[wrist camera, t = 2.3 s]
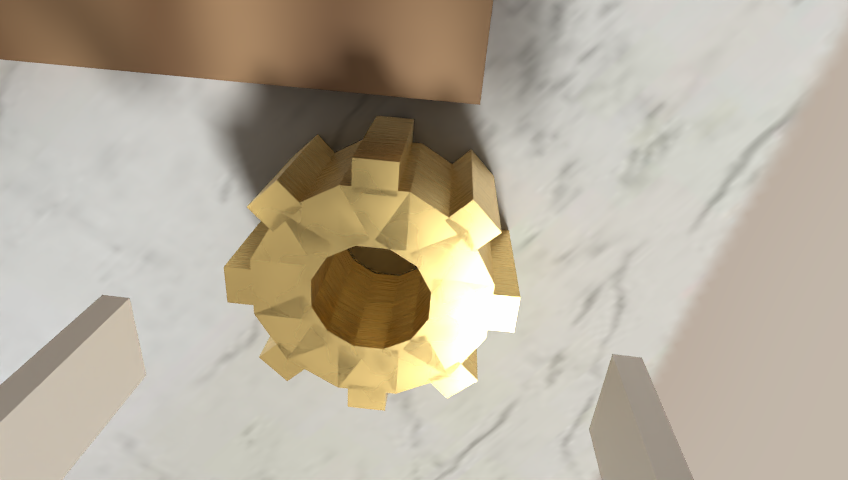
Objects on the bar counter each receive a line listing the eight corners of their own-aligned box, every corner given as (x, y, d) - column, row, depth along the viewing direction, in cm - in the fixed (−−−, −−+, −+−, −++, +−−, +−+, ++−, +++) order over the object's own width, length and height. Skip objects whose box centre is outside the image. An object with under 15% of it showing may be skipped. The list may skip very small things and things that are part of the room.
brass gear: (278, 317, 24) (238, 394, 20) (266, 105, 20) (210, 143, 16) (490, 339, 24) (496, 422, 20) (526, 129, 20) (543, 176, 15)
